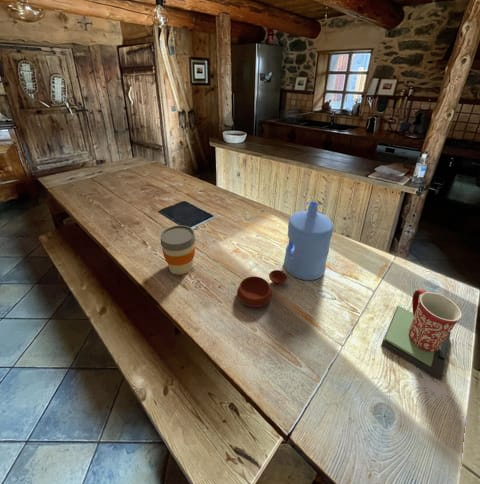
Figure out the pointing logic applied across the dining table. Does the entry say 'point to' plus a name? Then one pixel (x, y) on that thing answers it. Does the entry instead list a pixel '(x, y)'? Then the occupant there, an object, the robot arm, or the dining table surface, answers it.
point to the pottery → (259, 289)
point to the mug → (432, 319)
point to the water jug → (308, 243)
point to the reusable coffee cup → (178, 248)
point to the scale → (413, 345)
